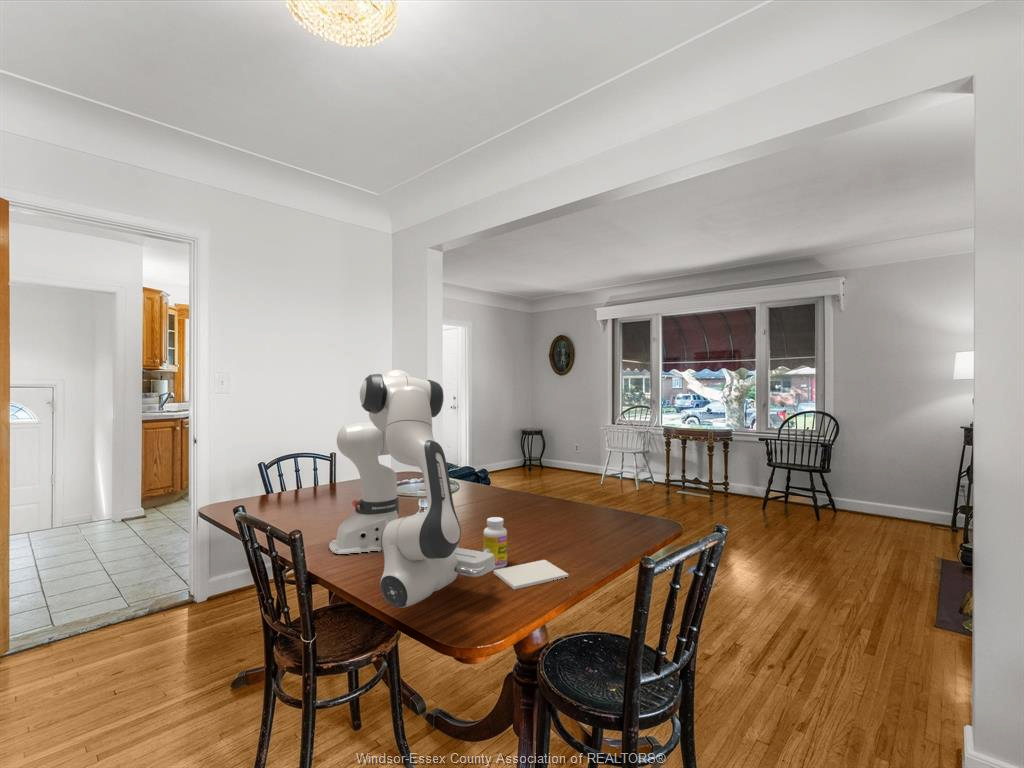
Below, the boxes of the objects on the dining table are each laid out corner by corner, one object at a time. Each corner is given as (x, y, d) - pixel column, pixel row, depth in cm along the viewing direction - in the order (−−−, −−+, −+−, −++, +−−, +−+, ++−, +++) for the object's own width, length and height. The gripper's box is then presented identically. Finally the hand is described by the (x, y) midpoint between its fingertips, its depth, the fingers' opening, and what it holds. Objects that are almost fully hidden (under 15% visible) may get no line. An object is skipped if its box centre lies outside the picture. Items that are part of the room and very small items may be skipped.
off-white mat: (514, 589, 121) (514, 586, 121) (493, 573, 132) (493, 570, 132) (568, 577, 128) (568, 574, 128) (544, 562, 139) (544, 559, 139)
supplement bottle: (498, 571, 133) (498, 523, 133) (478, 566, 136) (478, 520, 136) (511, 563, 139) (511, 518, 139) (492, 559, 142) (492, 514, 142)
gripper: (476, 560, 110) (506, 542, 122) (405, 547, 119) (440, 532, 131) (477, 588, 109) (507, 567, 122) (405, 573, 119) (440, 555, 131)
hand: (471, 549), depth 127 cm, fingers open, 8 cm apart
